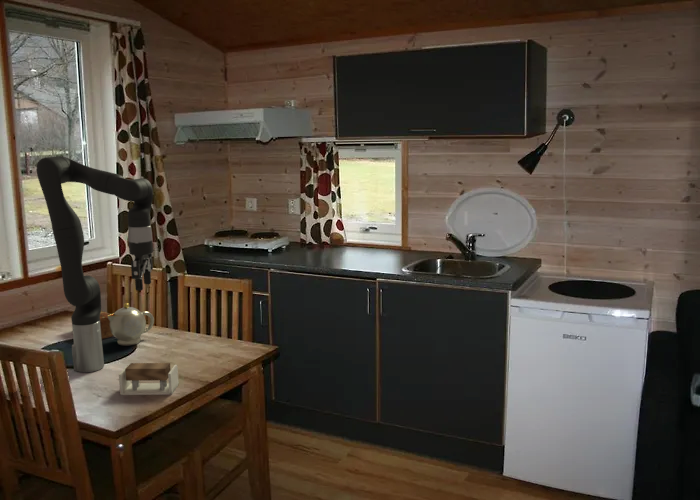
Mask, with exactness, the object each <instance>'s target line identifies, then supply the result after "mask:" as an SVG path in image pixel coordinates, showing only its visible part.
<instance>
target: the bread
mask: <svg viewBox="0 0 700 500" xmlns="http://www.w3.org/2000/svg"><path fill="white" fill-rule="evenodd" d="M110 314H111V313H109V312H106V311H103V310H101V313H100V326H101V337H102V340H103V339H108V338H111V337H112V338H113V337H115V336H114V335H113V334H112V332H111V330H110V320H109V319H108V315H110Z"/></svg>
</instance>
